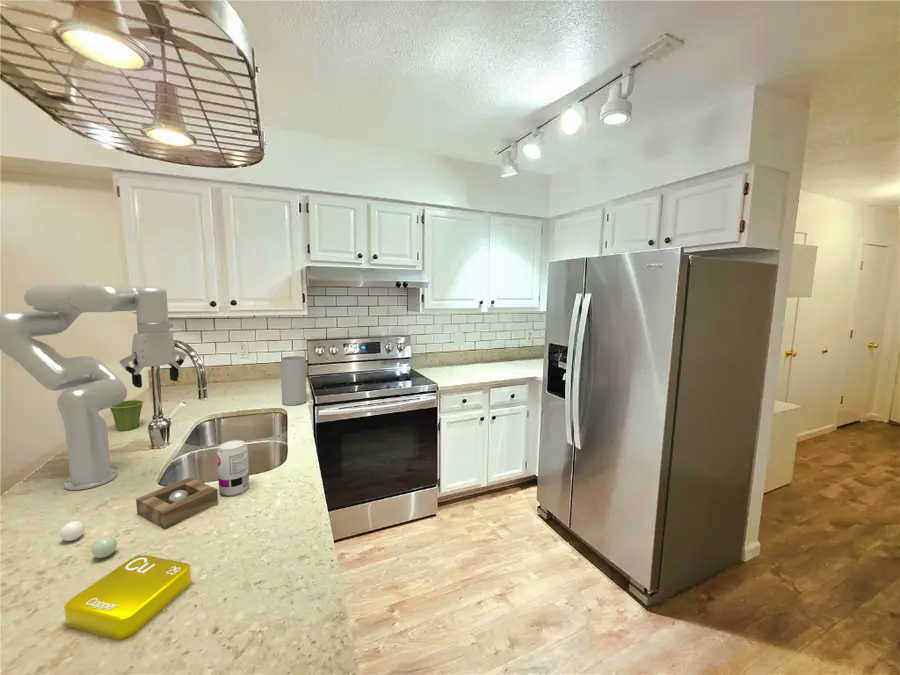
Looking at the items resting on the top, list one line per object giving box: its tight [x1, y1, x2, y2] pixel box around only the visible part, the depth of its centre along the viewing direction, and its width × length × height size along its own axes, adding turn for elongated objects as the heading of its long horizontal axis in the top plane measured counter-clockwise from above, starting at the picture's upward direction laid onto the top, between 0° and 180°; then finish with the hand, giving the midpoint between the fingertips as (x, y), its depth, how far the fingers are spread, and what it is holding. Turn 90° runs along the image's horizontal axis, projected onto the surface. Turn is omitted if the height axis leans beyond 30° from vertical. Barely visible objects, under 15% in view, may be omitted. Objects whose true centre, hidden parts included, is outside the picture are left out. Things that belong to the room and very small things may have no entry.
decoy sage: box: [91, 536, 118, 559], centre depth 89 cm, size 4×4×4 cm
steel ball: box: [167, 490, 190, 504], centre depth 108 cm, size 5×5×5 cm
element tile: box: [64, 554, 192, 640], centre depth 77 cm, size 15×15×5 cm
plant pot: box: [108, 399, 145, 432], centre depth 166 cm, size 12×12×11 cm
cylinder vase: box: [280, 355, 307, 406], centre depth 208 cm, size 12×12×25 cm
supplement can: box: [216, 439, 250, 497], centre depth 118 cm, size 8×8×15 cm
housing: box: [135, 476, 219, 530], centre depth 108 cm, size 14×14×4 cm
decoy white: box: [59, 520, 86, 542], centre depth 94 cm, size 4×4×4 cm
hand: (156, 383), depth 117 cm, fingers open, 9 cm apart
